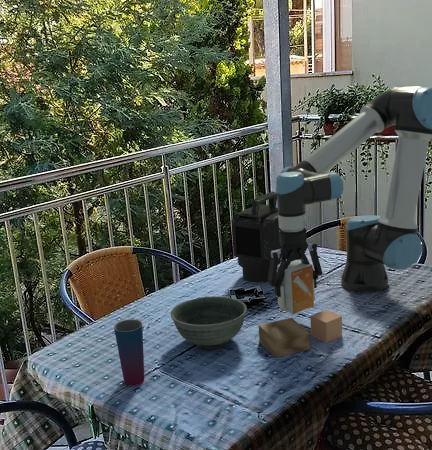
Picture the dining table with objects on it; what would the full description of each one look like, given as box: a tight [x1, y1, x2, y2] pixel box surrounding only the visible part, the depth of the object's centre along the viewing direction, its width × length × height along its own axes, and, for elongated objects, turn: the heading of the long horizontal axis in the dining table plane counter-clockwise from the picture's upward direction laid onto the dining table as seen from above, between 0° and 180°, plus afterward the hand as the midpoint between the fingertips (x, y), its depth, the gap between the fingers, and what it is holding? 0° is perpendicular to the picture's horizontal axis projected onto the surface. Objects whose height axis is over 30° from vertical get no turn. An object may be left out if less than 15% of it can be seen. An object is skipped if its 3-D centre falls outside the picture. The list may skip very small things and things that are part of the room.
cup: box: [113, 318, 145, 387], centre depth 144 cm, size 7×7×15 cm
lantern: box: [230, 191, 283, 284], centre depth 204 cm, size 15×18×30 cm
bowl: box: [170, 295, 248, 350], centre depth 162 cm, size 21×21×10 cm
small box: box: [277, 260, 315, 315], centre depth 168 cm, size 8×6×13 cm
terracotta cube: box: [310, 309, 343, 343], centre depth 162 cm, size 6×6×6 cm
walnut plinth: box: [258, 317, 310, 359], centre depth 158 cm, size 10×10×5 cm
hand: (296, 302), depth 170 cm, fingers closed on small box, 9 cm apart
